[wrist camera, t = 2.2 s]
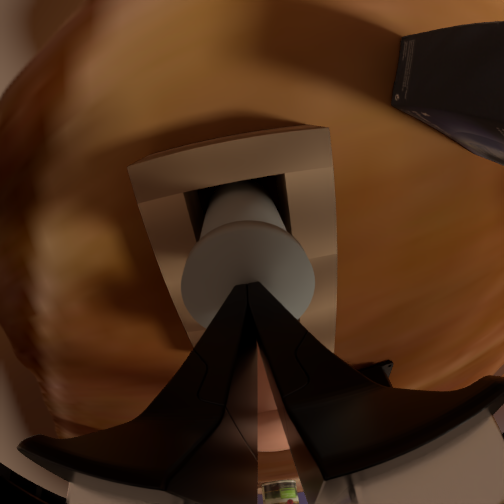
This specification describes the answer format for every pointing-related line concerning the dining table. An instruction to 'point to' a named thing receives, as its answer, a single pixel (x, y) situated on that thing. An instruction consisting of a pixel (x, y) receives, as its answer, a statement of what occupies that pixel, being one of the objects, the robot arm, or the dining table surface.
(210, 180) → the socket block
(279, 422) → the brick plug
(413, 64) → the small box
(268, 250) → the grey plug
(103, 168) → the dining table surface
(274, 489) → the coffee can
